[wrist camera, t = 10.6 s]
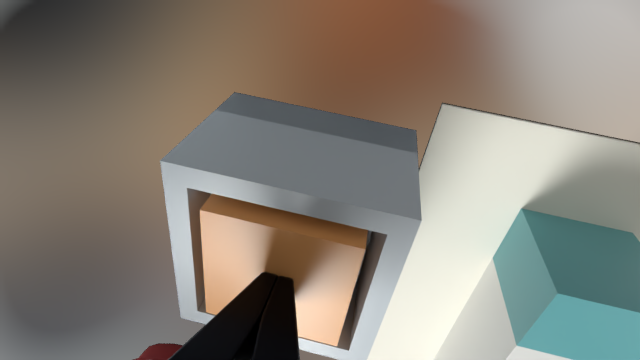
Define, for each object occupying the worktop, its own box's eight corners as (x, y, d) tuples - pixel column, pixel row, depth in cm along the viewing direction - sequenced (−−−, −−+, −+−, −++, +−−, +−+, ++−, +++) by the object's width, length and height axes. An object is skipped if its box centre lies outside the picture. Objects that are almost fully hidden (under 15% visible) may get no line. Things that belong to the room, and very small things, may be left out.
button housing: (374, 260, 15) (364, 366, 11) (233, 227, 15) (180, 318, 12) (416, 130, 12) (421, 220, 8) (234, 92, 12) (160, 160, 8)
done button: (348, 273, 13) (336, 346, 11) (240, 247, 13) (206, 312, 11) (374, 182, 11) (365, 249, 8) (242, 152, 11) (199, 209, 9)
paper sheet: (551, 427, 19) (552, 431, 19) (347, 373, 20) (346, 376, 20) (835, 182, 10) (842, 186, 10) (442, 102, 11) (442, 104, 11)
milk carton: (504, 383, 18) (524, 473, 15) (430, 364, 18) (435, 448, 15) (632, 233, 12) (706, 328, 9) (521, 208, 12) (557, 293, 9)
